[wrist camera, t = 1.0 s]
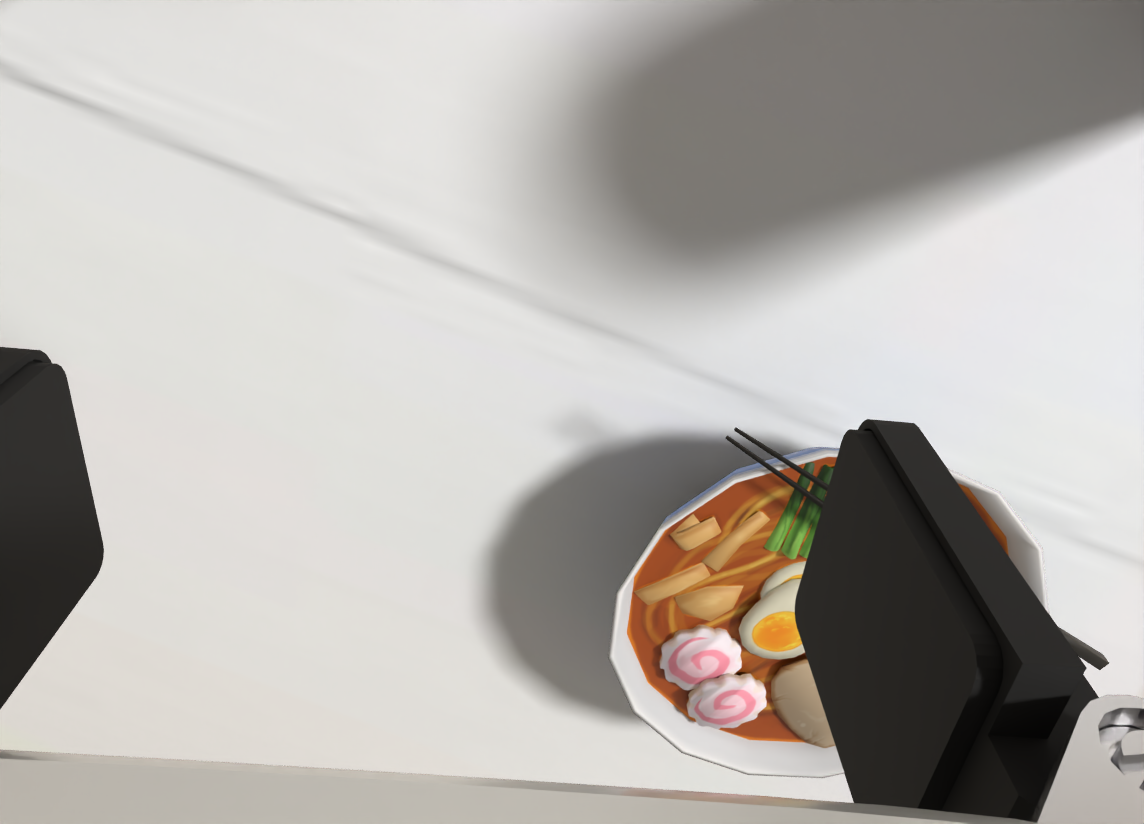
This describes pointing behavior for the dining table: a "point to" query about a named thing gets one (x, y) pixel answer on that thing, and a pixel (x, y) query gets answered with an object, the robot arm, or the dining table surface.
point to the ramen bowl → (753, 616)
